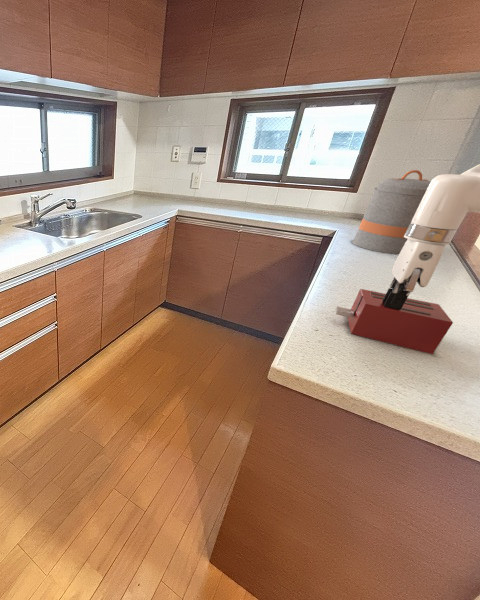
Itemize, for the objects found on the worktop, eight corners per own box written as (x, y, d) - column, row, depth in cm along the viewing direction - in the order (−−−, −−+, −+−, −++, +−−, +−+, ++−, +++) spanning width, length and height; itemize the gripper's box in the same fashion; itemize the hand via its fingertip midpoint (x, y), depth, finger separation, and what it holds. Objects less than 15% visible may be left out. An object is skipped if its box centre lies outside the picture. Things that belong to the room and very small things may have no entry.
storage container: (368, 251, 150) (404, 171, 134) (342, 238, 170) (371, 166, 154) (423, 255, 147) (467, 173, 131) (390, 241, 166) (425, 168, 150)
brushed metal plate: (351, 313, 90) (353, 309, 89) (352, 318, 87) (354, 314, 87) (335, 310, 91) (337, 306, 91) (336, 314, 89) (337, 310, 89)
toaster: (420, 333, 86) (439, 303, 82) (432, 354, 78) (453, 322, 74) (346, 316, 94) (360, 288, 90) (350, 333, 86) (365, 303, 81)
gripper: (465, 245, 64) (418, 324, 73) (441, 229, 76) (403, 298, 85) (415, 238, 68) (376, 314, 76) (399, 224, 80) (367, 291, 88)
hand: (391, 305), depth 80 cm, fingers closed
